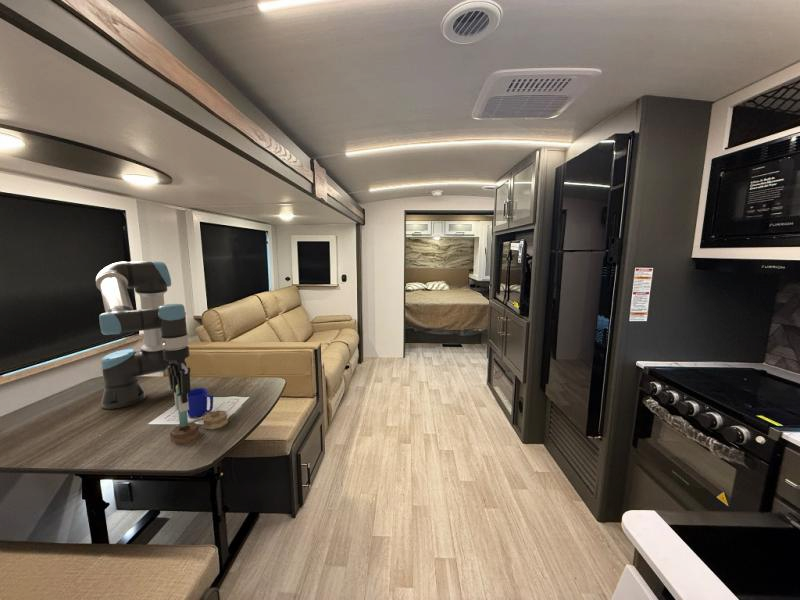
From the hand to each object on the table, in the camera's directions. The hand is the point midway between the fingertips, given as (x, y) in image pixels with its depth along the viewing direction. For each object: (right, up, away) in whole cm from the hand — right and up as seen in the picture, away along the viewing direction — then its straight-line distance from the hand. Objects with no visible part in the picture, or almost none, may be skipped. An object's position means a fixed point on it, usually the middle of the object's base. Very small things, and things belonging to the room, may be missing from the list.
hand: (182, 409), depth 114 cm
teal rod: (0, -6, +1) cm, 6 cm away
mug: (-4, -9, +18) cm, 20 cm away
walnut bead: (0, -11, +2) cm, 11 cm away
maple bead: (+6, -10, +11) cm, 16 cm away
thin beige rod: (-4, -9, +12) cm, 16 cm away
